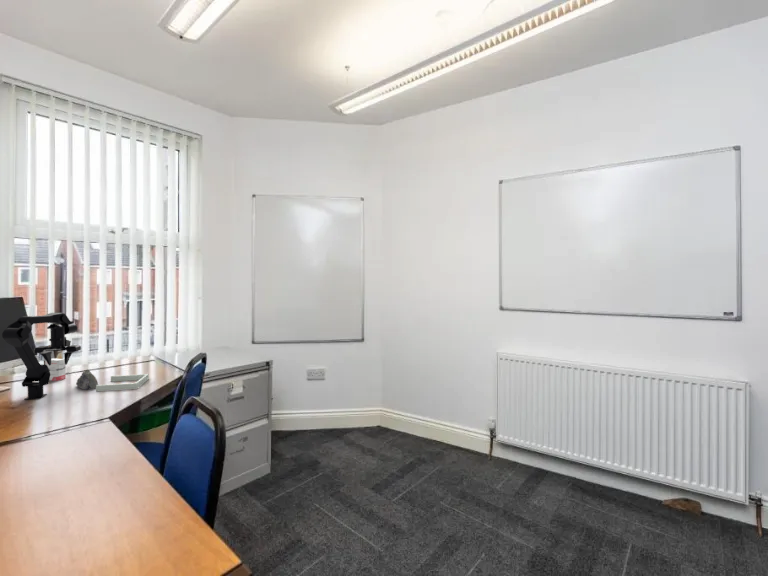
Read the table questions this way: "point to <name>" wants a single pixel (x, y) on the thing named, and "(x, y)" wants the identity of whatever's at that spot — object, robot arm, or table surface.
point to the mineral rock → (87, 380)
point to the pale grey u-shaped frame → (140, 377)
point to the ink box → (57, 369)
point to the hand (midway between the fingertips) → (58, 364)
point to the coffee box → (55, 355)
